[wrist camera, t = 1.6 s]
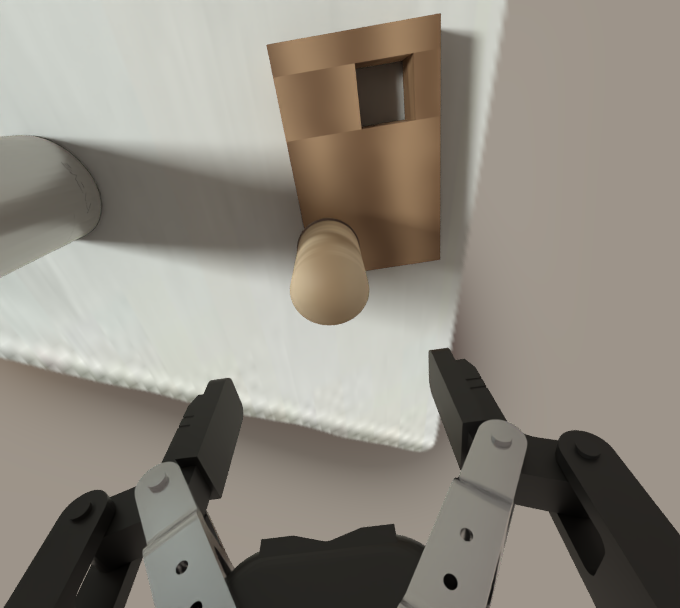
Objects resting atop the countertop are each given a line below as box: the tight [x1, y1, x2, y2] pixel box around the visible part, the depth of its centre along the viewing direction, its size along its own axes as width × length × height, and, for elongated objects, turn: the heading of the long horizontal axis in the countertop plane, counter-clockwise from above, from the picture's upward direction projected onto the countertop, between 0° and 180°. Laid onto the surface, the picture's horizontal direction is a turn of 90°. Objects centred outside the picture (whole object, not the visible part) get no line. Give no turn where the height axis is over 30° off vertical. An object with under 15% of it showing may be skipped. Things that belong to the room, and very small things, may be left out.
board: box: [267, 13, 441, 271], centre depth 29 cm, size 12×18×4 cm, turn 8°
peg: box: [290, 217, 369, 325], centre depth 25 cm, size 5×5×11 cm
